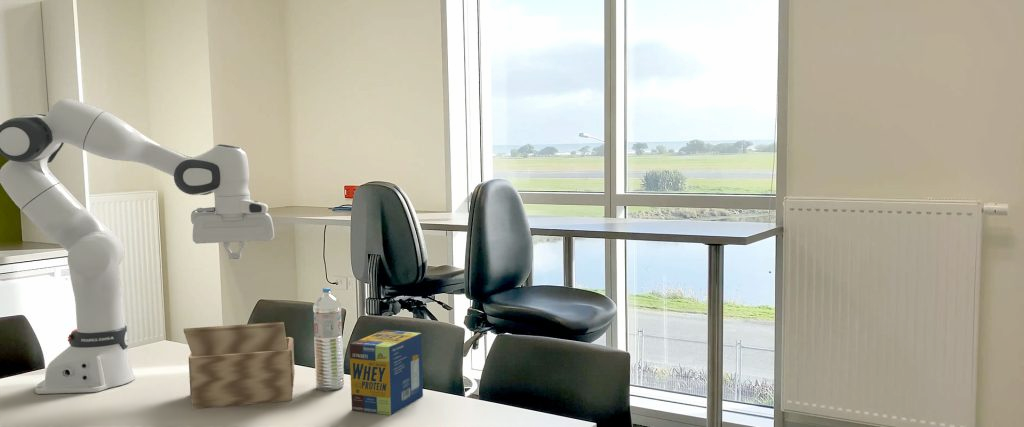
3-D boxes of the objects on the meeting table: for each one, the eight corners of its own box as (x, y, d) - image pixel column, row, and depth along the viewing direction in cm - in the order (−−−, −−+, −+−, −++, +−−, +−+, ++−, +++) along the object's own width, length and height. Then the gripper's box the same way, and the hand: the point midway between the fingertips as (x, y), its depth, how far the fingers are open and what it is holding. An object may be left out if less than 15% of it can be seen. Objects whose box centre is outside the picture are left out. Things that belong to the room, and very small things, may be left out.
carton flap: (192, 354, 180) (192, 356, 179) (183, 328, 169) (183, 330, 169) (286, 347, 184) (286, 349, 184) (283, 321, 174) (283, 324, 174)
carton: (190, 409, 180) (188, 358, 179) (199, 391, 194) (197, 343, 193) (293, 400, 185) (291, 350, 185) (295, 383, 199) (293, 337, 199)
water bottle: (337, 392, 191) (333, 290, 189) (311, 391, 193) (307, 290, 191) (348, 384, 198) (345, 286, 196) (323, 383, 199) (319, 285, 197)
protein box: (350, 411, 177) (348, 343, 176) (386, 391, 191) (384, 329, 190) (391, 416, 173) (388, 346, 172) (424, 396, 187) (422, 331, 186)
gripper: (188, 208, 199) (191, 262, 200) (272, 206, 204) (274, 258, 205) (192, 207, 206) (194, 259, 207) (273, 204, 210) (275, 256, 211)
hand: (235, 259), depth 206 cm, fingers closed
